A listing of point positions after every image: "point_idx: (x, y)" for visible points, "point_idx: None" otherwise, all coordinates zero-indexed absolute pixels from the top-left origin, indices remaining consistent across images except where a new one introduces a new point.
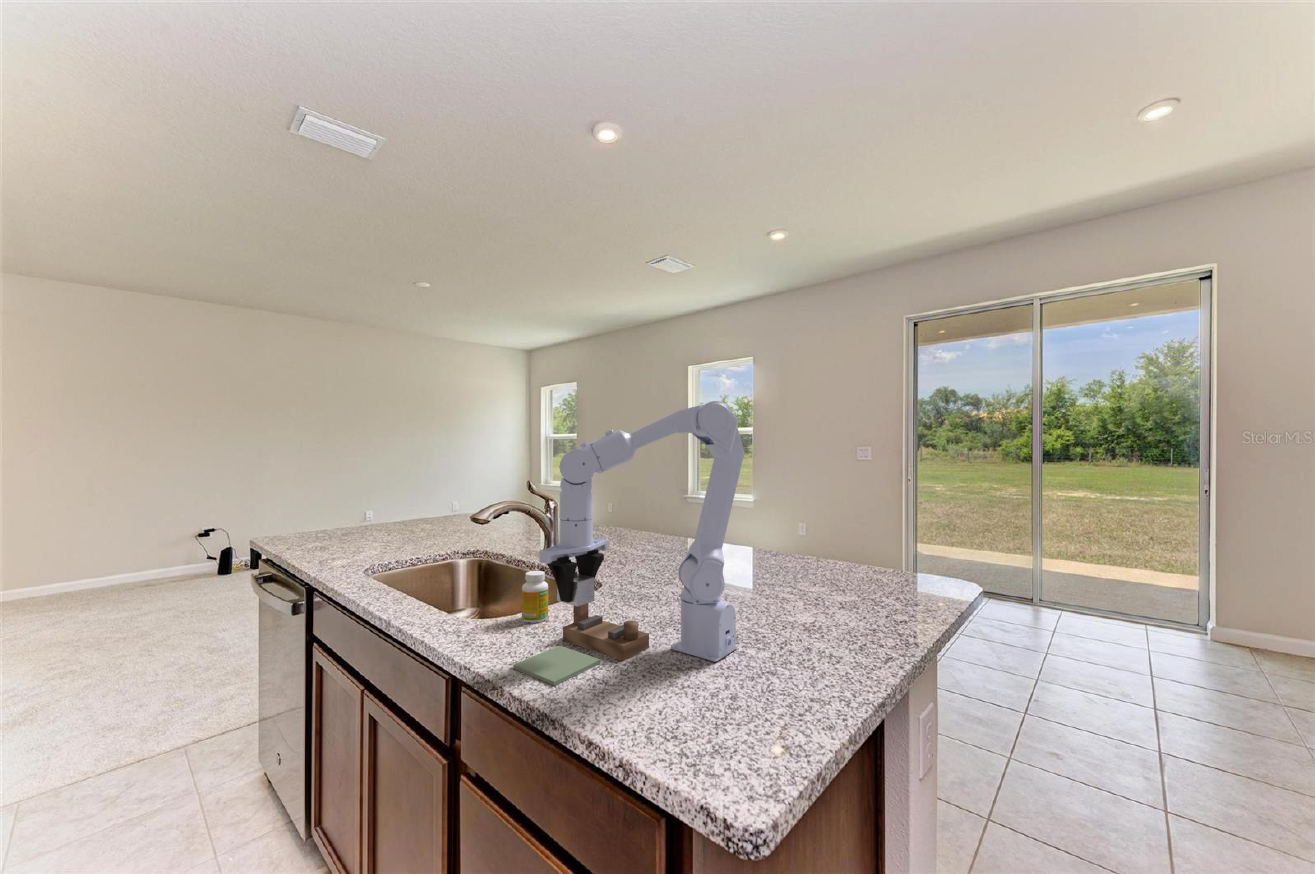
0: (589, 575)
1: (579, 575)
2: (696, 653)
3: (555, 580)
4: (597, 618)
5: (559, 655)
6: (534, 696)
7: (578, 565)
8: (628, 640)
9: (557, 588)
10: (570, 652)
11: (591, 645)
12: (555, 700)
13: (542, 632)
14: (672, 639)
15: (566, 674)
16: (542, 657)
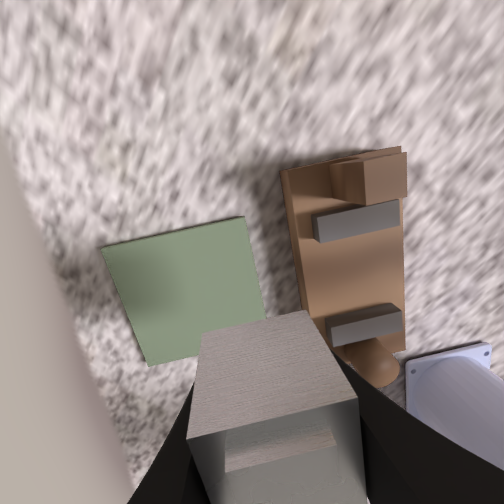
0: (374, 501)
1: (339, 462)
2: (411, 409)
3: (143, 483)
4: (379, 228)
5: (214, 269)
6: (104, 372)
7: (407, 497)
8: (346, 355)
9: (195, 379)
10: (242, 271)
11: (298, 274)
12: (131, 400)
13: (269, 62)
14: (448, 325)
15: (181, 354)
16: (175, 256)
